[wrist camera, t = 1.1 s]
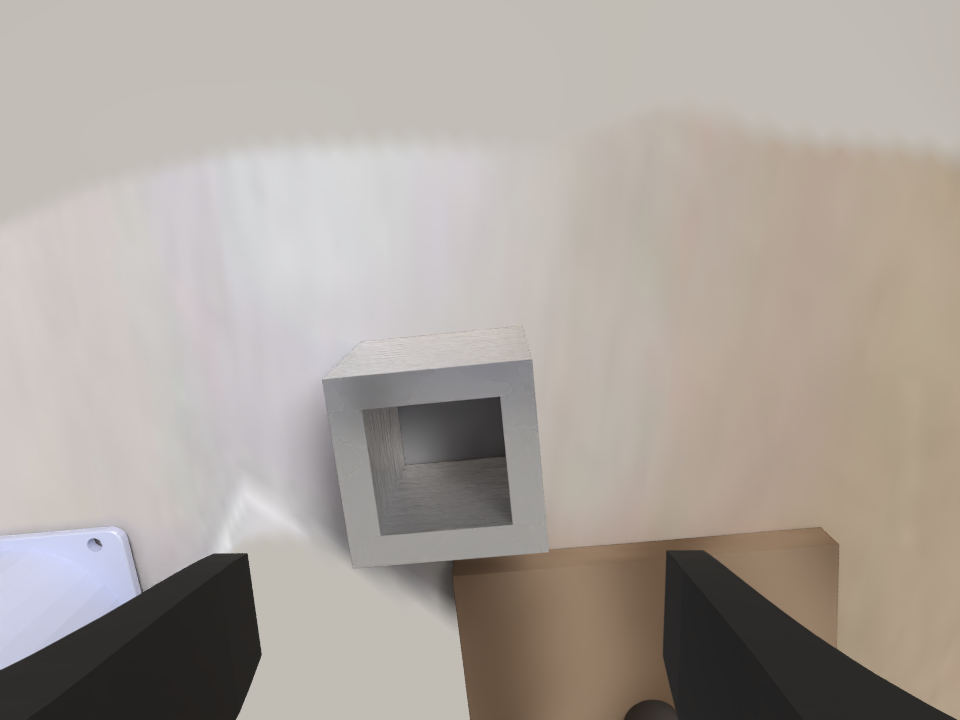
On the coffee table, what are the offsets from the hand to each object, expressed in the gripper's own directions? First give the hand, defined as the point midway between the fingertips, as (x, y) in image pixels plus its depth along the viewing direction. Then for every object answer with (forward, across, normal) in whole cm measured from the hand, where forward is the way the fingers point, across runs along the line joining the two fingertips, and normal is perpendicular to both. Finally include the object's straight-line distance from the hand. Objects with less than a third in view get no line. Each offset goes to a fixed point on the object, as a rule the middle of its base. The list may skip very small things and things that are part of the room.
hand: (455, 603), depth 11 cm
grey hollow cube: (+11, +1, 0) cm, 11 cm away
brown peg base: (+11, -6, +12) cm, 17 cm away
